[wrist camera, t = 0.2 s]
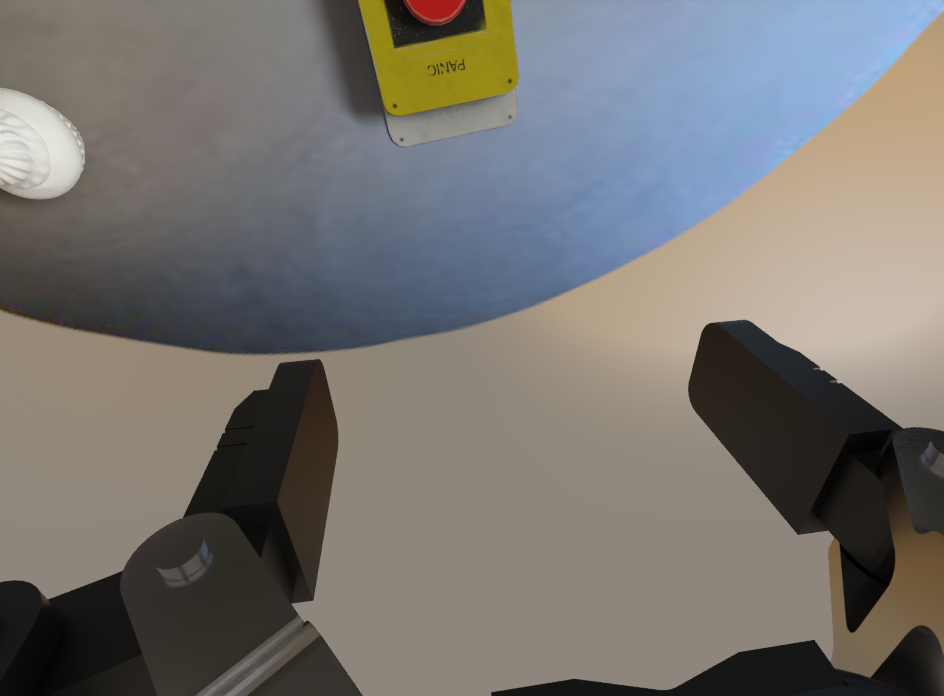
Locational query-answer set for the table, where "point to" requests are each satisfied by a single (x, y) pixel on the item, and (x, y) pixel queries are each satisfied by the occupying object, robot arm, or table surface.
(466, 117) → the emergency button
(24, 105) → the white rounded piece
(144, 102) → the table surface
